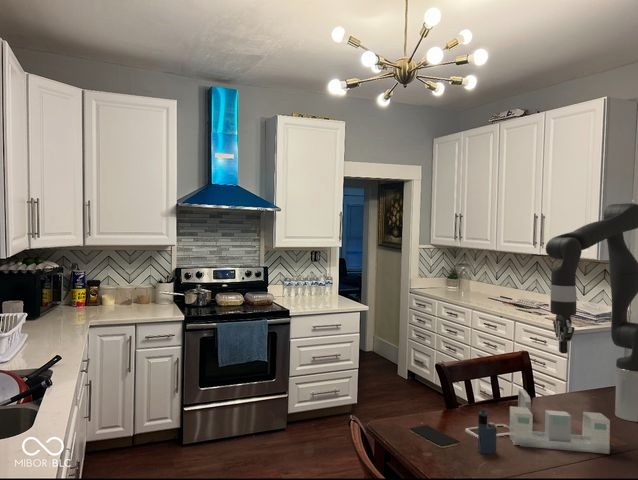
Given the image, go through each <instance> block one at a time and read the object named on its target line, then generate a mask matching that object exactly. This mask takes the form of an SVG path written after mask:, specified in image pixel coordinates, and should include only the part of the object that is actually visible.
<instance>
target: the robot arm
mask: <svg viewBox="0 0 638 480" xmlns="http://www.w3.org/2000/svg"><path fill="white" fill-rule="evenodd" d="M637 229H638V203H633V202H632V203H630V202H629V203H614V204H608V205H607V206H606V208H605V209H604V212H603V219H601V220H597V221H593V222H590V223H587V224H585V225H583V226H580V227H579V228H577V229H575V230H573V231H570V232H566V233H563V234H559V235H557V236H553V237H552V238H551V239H549V241H547V243H546V245H545V252H546V254H547V256H548V257H549V258H551V259H554V260H562V262H561V265H559V266H555V267H553V268H552V270H551V273H550V275H551V277H550V278H551V281H550V282H551V283H550V284H551V285H550V286H551V287H550V313H551V314H552V315H555V319H554V320H553V321H552V324H553V329H554V333H555V337H556V338H557V340H558V352H559V353H561V354H568V352H569V350H568V349H569V345H568V344H569V343H568V342H571V341H572V338H573V335H574V333H575V330H576V329H575V327H574V326H572V325H573V321H572V318H571V317H572V316H575V315H577V287H576V286H577V285H576V283H577V282H576V279H577V277H576V275H577V274H576V273H577V271H578V267H579V264H580V263H579V262H580V260H581V257H582V251H585V250H587V249H589V248H591V247H593V246H594V245H596V244H599V243H600V242H603V241H605V240H606V242H607V243H606V244H607V250H608V261H609V283H610V291H611V292H610V293H611V295H610V296H611V321H610V322H611V323H610V325H611V326H610V332H611V335H610V336H611V340H612V342H613V344H614V345H615V346H617V347H618V348H619V347H620V348H623V349H624V348H625V349H629V350H631V354H630V355H628V356H624V357H623V356H622V357H618V358H617V359H616V363H615V364H616V365H615V367H616V368H615V402H614V403H615V405H614V406H615V407H614V414H615V416H616V417H617V418H619V419H622V420H623V421H624V420H625V421H629V422H634V423H638V323H637V322H629V321H628V311H629V308H630V306H631V305H630V304H631V303H632V302H633V301H634V299H635V298H636V297H637V295H638V261H637V259H636V257H635V256H634V255H633V253H632V252H631V251H630V249H629V248H628V245H627V244H626V241H625V237H624V233H625V232H629V231H633V230H637Z"/></svg>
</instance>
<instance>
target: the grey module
mask: <svg viewBox="0 0 638 480" xmlns="http://www.w3.org/2000/svg"><path fill="white" fill-rule="evenodd" d="M544 432H545V438H546V439H547V440H553V441H565V442H571V434H572V415H570V413H568V412H567V411H563V410H562V411H559V410H547V409H546V410H545V411H544Z"/></svg>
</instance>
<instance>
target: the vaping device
mask: <svg viewBox="0 0 638 480" xmlns="http://www.w3.org/2000/svg"><path fill="white" fill-rule="evenodd" d="M477 424H478V425H477V427H478V428H477V435H478V438H477V451H479V452H478V453H480V454H486V455H487V454H490V455H491V454H492V455H495V454H496V451H497V438H498V437H497V434H498V433H497V427H495V425H496V423H495V422H492V421H488V412H486V410H485V409H484V408H481V409H480V411H478V422H477ZM496 437H497V438H496Z"/></svg>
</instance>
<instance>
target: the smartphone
mask: <svg viewBox="0 0 638 480" xmlns="http://www.w3.org/2000/svg"><path fill="white" fill-rule="evenodd" d="M409 432H411V433H413V434H415V435H416V436H419V437H420V438H422V439H424V440H425V441H427V442H429V443H431V444H433V445H434V446H436V447H438V448H442V449H444V448H450V447H454V446H457V445H460V444H461V442H460V440H458V439H456V438H454V437H452V436H450V435H448V434H446V433H444V432H442V431H440V430H438V429H436V428H434V427H432V426H430V425H429V424H425V425H419V426H414V427H410V428H409Z"/></svg>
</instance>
